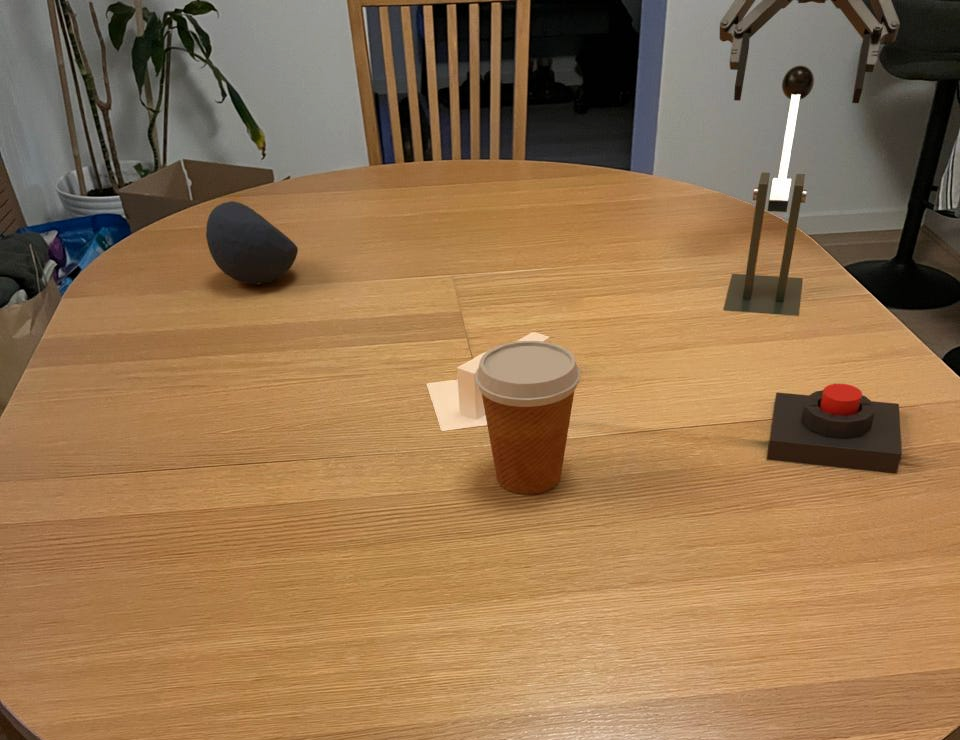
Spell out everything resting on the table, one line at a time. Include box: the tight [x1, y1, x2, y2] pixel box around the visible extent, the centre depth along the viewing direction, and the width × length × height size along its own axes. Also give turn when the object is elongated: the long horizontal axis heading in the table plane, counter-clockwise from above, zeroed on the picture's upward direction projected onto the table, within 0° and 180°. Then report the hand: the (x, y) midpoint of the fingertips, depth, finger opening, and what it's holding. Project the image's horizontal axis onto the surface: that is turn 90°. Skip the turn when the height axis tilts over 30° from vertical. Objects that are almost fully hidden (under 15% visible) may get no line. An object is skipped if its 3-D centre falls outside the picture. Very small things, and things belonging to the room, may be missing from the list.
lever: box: [767, 64, 815, 213], centre depth 114 cm, size 17×4×4 cm
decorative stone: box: [205, 200, 299, 285], centre depth 131 cm, size 12×12×10 cm
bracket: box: [722, 172, 808, 317], centre depth 117 cm, size 12×9×15 cm
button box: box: [766, 389, 903, 474], centre depth 95 cm, size 12×10×4 cm
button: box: [820, 383, 863, 416], centre depth 93 cm, size 4×4×2 cm
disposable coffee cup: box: [475, 340, 581, 495], centre depth 90 cm, size 10×10×12 cm
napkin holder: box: [426, 331, 551, 432], centre depth 104 cm, size 15×11×6 cm
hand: (796, 95), depth 113 cm, fingers open, 13 cm apart
